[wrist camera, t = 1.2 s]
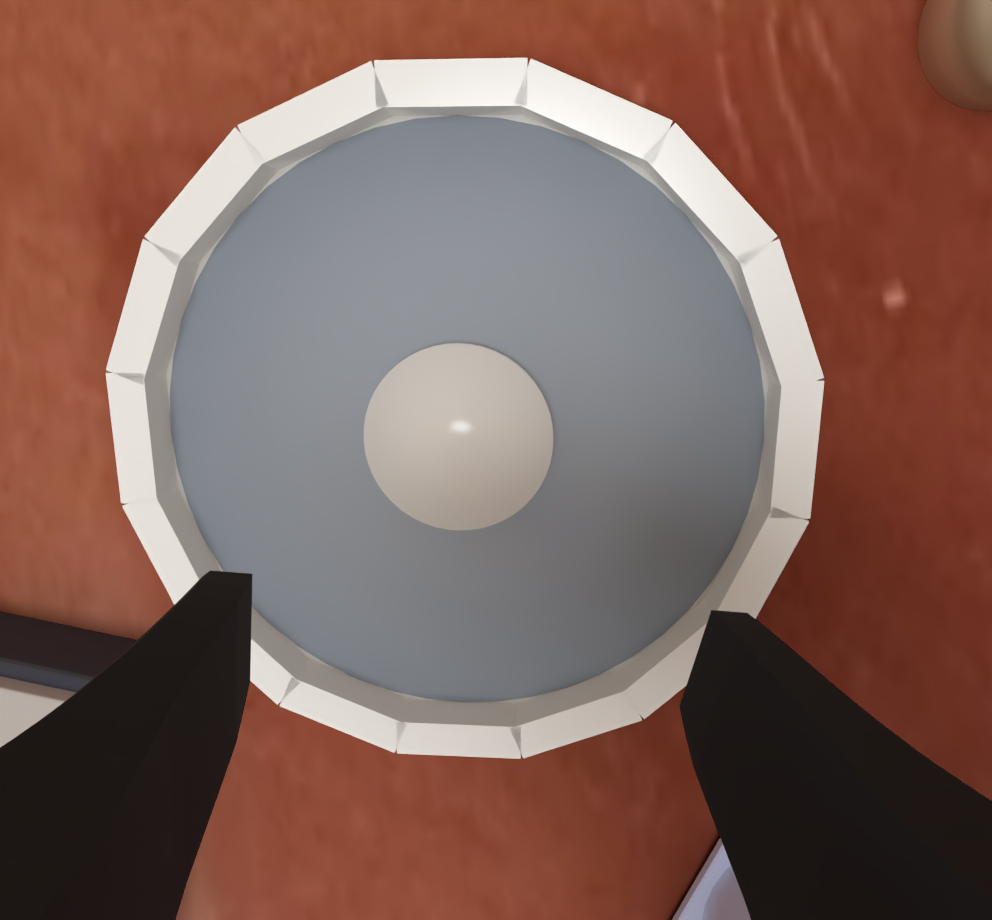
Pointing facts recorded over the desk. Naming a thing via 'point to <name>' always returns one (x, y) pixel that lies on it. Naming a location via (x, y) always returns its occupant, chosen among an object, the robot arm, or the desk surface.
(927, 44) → the wooden bead
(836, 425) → the desk surface
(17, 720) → the calculator
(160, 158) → the desk surface
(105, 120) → the desk surface
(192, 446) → the ring tray
